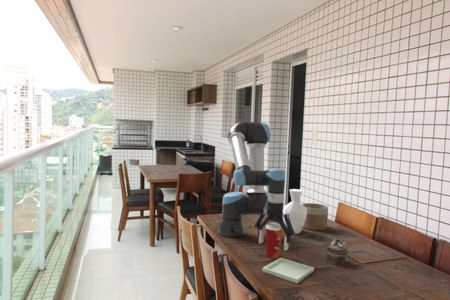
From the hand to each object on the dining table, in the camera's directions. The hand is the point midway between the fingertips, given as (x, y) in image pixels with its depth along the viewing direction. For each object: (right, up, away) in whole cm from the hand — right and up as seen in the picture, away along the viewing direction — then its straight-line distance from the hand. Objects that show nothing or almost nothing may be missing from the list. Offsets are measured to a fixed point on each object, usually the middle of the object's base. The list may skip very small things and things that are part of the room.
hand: (273, 246), depth 161 cm
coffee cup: (0, -5, 0) cm, 5 cm away
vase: (+18, -3, +42) cm, 46 cm away
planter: (+33, -4, +53) cm, 63 cm away
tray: (+4, -6, -17) cm, 18 cm away
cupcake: (+29, -7, -3) cm, 29 cm away
